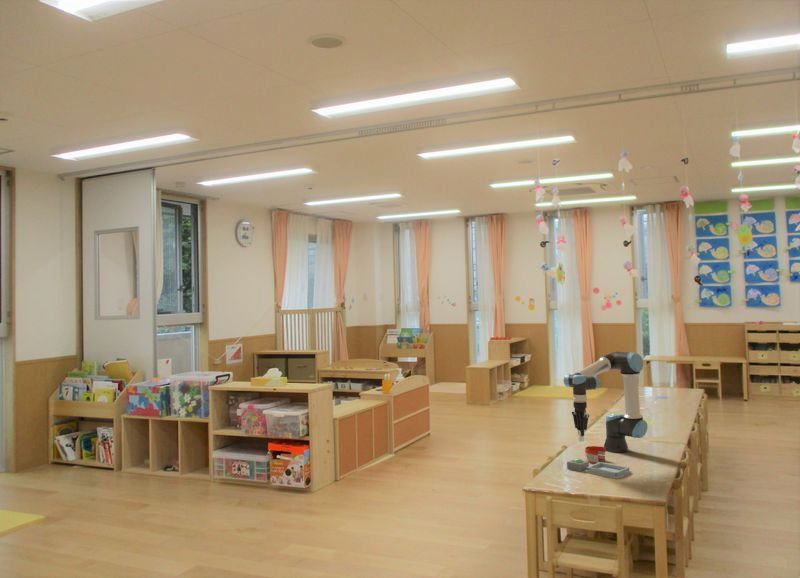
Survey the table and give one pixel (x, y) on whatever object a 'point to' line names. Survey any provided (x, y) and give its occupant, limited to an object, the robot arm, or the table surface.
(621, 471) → the grey tray
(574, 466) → the grey square holder
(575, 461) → the button
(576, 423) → the robot arm
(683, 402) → the table surface
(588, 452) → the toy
